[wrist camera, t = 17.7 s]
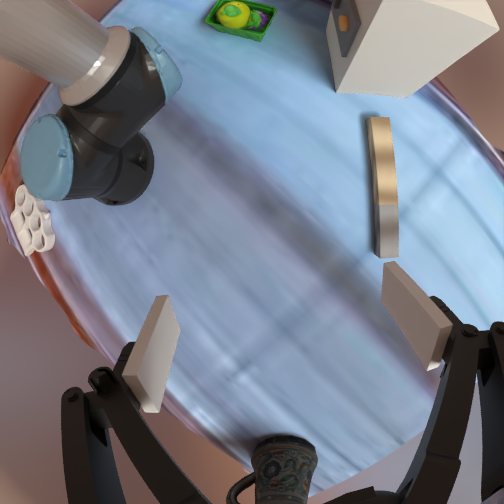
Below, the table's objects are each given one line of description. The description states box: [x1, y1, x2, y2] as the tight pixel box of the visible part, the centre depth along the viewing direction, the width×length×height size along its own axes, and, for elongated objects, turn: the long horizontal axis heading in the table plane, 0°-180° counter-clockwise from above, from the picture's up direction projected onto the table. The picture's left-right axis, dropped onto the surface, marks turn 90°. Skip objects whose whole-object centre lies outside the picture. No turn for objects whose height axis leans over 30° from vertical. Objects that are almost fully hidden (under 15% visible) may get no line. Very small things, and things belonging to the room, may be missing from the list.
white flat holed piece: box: [10, 185, 55, 256], centre depth 54 cm, size 3×18×15 cm
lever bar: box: [366, 117, 399, 258], centre depth 45 cm, size 24×4×3 cm, turn 5°
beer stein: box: [226, 436, 318, 504], centre depth 48 cm, size 16×19×25 cm
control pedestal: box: [326, 0, 499, 98], centre depth 27 cm, size 14×15×30 cm
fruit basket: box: [205, 0, 277, 42], centre depth 37 cm, size 11×9×11 cm
